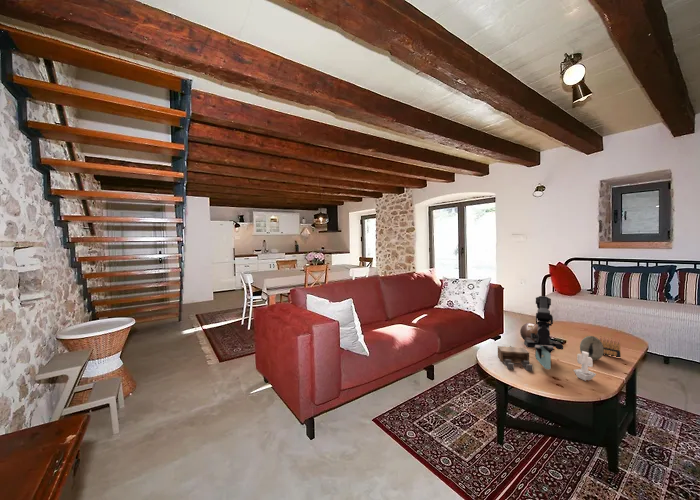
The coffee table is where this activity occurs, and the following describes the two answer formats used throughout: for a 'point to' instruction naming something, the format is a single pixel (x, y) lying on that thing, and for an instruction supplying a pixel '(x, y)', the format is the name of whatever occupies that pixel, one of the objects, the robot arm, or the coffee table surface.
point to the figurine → (584, 366)
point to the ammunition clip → (611, 347)
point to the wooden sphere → (528, 331)
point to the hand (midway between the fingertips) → (543, 358)
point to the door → (544, 358)
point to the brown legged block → (514, 357)
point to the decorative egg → (592, 347)
